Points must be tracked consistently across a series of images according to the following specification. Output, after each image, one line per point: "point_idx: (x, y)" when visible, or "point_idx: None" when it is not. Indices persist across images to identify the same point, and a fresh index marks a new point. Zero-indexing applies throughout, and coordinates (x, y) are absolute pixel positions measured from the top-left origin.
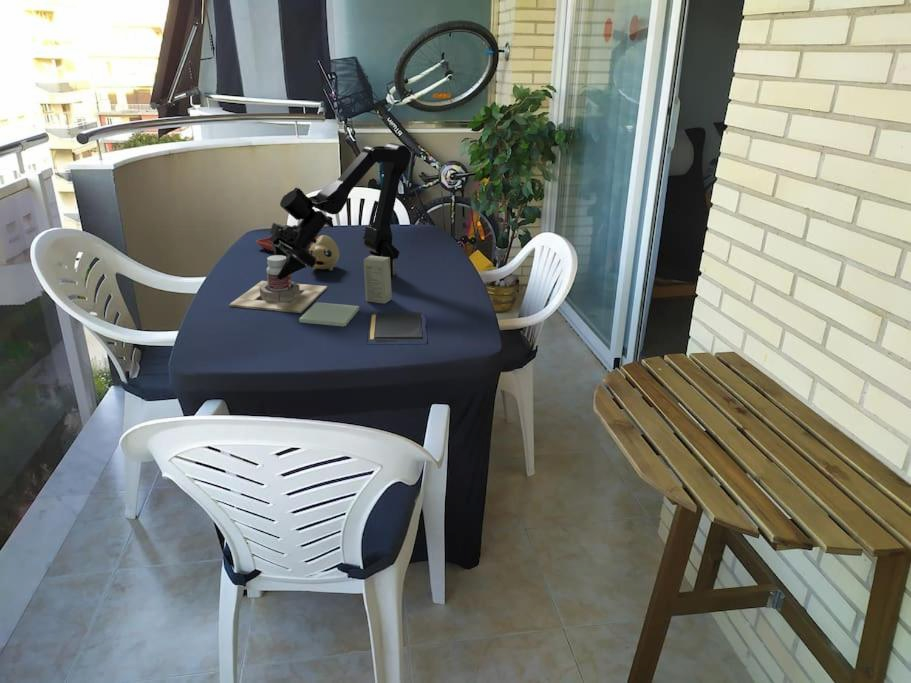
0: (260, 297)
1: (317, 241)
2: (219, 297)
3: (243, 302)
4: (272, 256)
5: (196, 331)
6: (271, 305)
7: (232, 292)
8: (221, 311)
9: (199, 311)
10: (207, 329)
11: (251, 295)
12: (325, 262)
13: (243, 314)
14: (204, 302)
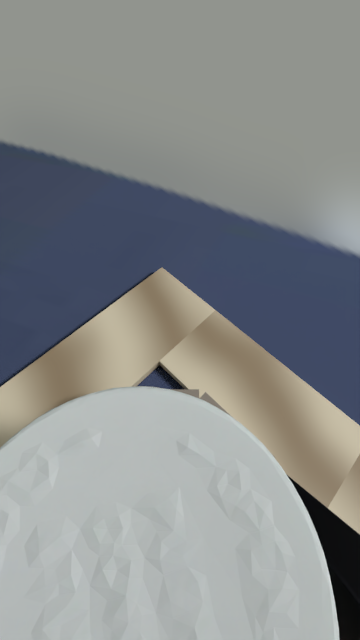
0: None
1: None
2: (278, 274)
3: (152, 313)
4: (262, 533)
5: (27, 166)
6: (30, 403)
7: (324, 327)
8: (131, 243)
9: (171, 201)
10: (17, 184)
11: (224, 370)
12: None
13: (51, 286)
14: (246, 228)
